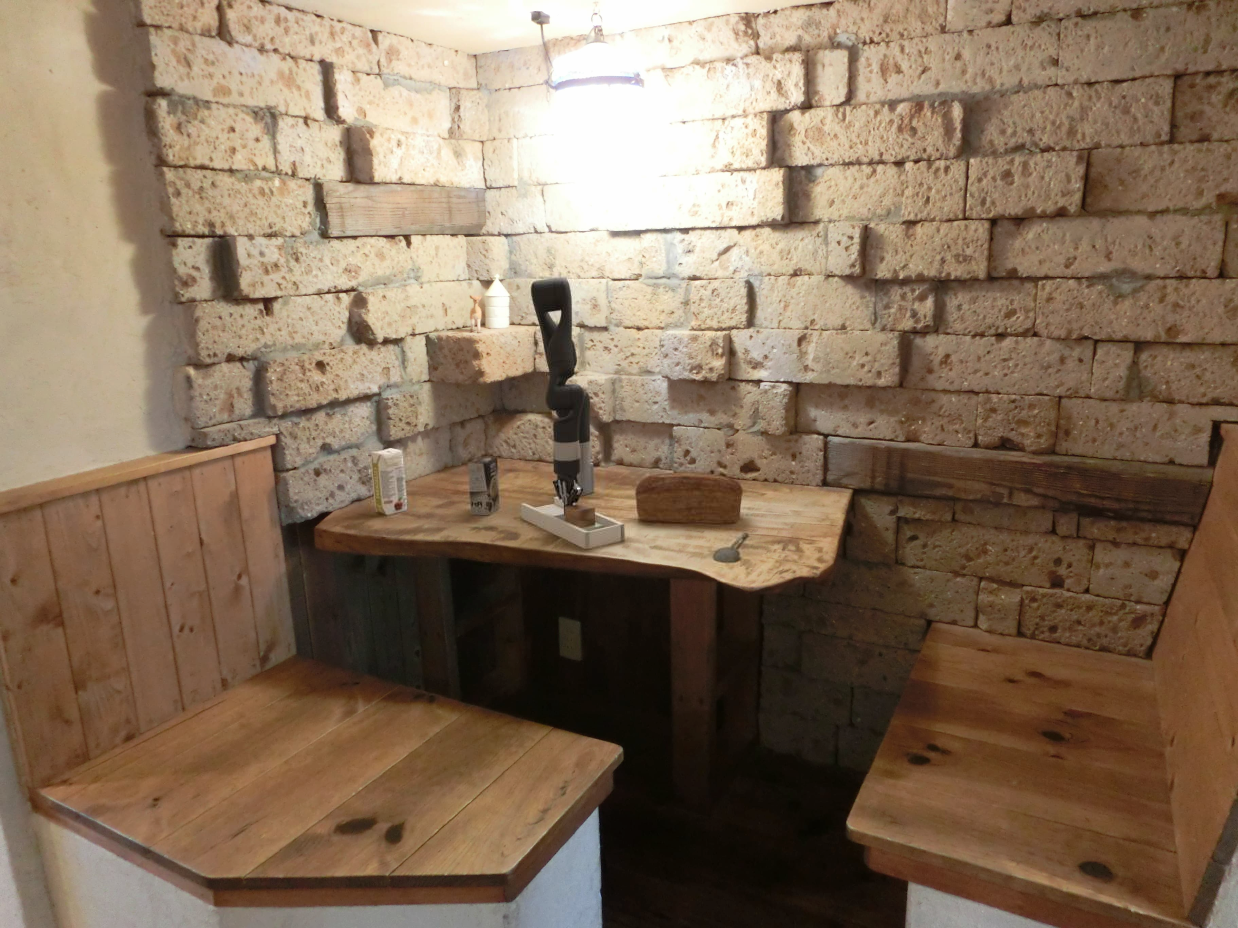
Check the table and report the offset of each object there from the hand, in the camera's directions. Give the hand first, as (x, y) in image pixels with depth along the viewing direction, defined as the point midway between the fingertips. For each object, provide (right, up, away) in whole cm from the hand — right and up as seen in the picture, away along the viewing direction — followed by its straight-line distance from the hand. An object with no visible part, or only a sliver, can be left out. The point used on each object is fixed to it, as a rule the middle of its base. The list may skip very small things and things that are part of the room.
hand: (568, 515), depth 239 cm
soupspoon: (+44, -8, -19) cm, 49 cm away
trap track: (0, -3, +1) cm, 4 cm away
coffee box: (-26, 0, +19) cm, 33 cm away
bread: (+35, -2, +7) cm, 35 cm away
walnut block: (+4, -2, -4) cm, 6 cm away
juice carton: (-56, 0, +21) cm, 59 cm away
